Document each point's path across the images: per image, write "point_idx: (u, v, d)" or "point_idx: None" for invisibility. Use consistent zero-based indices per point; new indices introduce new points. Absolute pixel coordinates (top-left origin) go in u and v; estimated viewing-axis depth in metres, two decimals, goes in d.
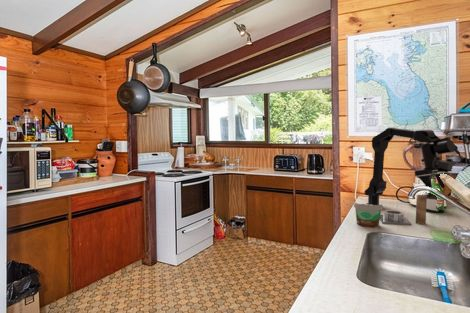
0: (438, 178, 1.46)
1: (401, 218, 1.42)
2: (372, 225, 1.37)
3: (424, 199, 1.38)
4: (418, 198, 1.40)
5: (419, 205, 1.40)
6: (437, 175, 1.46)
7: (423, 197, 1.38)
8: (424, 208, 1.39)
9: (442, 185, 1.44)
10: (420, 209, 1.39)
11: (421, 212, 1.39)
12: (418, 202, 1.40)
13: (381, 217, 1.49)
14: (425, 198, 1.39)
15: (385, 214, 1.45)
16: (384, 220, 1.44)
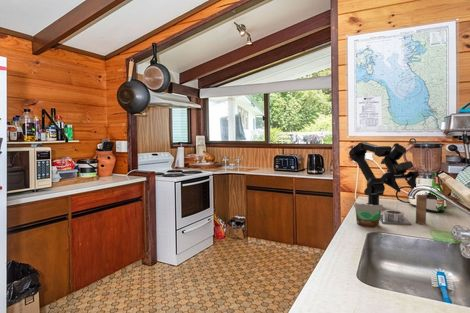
0: (410, 183, 1.53)
1: (401, 218, 1.42)
2: (372, 225, 1.37)
3: (424, 199, 1.39)
4: (418, 198, 1.40)
5: (419, 205, 1.40)
6: (408, 181, 1.54)
7: (423, 197, 1.38)
8: (424, 208, 1.39)
9: None
10: (420, 209, 1.39)
11: (421, 212, 1.39)
12: (418, 202, 1.40)
13: (381, 217, 1.49)
14: (425, 198, 1.39)
15: (385, 214, 1.45)
16: (384, 220, 1.44)
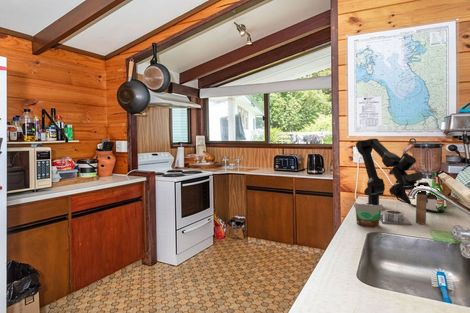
0: None
1: (401, 218, 1.42)
2: (372, 225, 1.37)
3: (424, 199, 1.39)
4: (418, 198, 1.40)
5: (419, 205, 1.40)
6: (418, 193, 1.48)
7: (423, 197, 1.39)
8: (424, 208, 1.39)
9: None
10: (420, 209, 1.39)
11: (421, 212, 1.39)
12: (418, 202, 1.40)
13: (381, 217, 1.49)
14: (425, 198, 1.39)
15: (385, 214, 1.45)
16: (384, 220, 1.44)
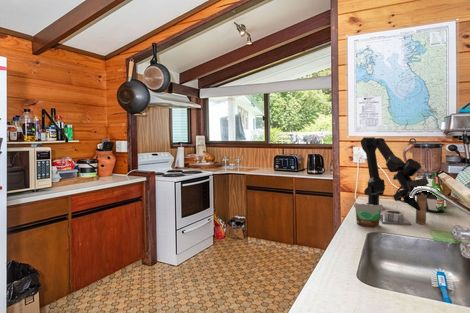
0: None
1: (401, 218, 1.42)
2: (372, 225, 1.37)
3: (424, 199, 1.39)
4: (418, 198, 1.40)
5: (419, 205, 1.40)
6: None
7: (423, 197, 1.38)
8: (424, 208, 1.39)
9: None
10: None
11: (421, 212, 1.39)
12: (418, 202, 1.40)
13: (381, 217, 1.49)
14: (425, 198, 1.39)
15: (385, 214, 1.45)
16: (384, 220, 1.44)
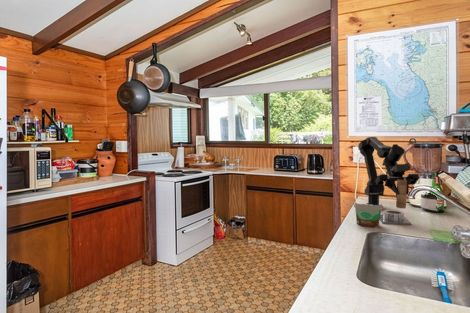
0: None
1: (401, 218, 1.42)
2: (372, 225, 1.37)
3: (403, 183, 1.41)
4: (398, 182, 1.43)
5: (398, 189, 1.43)
6: None
7: (402, 181, 1.41)
8: (403, 192, 1.42)
9: (406, 191, 1.43)
10: (399, 193, 1.42)
11: (400, 196, 1.42)
12: (398, 186, 1.43)
13: (381, 217, 1.49)
14: (404, 182, 1.41)
15: (385, 214, 1.45)
16: (384, 220, 1.44)
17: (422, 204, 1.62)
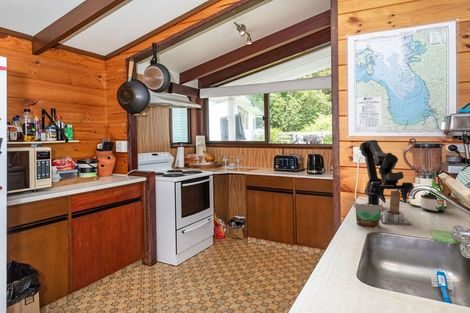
0: (402, 195, 1.48)
1: (401, 218, 1.42)
2: (372, 225, 1.37)
3: (396, 195, 1.43)
4: (391, 194, 1.45)
5: (391, 200, 1.45)
6: (401, 193, 1.49)
7: (395, 193, 1.43)
8: (396, 204, 1.44)
9: (404, 200, 1.44)
10: (392, 204, 1.44)
11: (392, 207, 1.44)
12: (391, 198, 1.45)
13: (381, 217, 1.49)
14: (397, 194, 1.43)
15: (385, 214, 1.45)
16: (384, 220, 1.44)
17: (422, 204, 1.62)
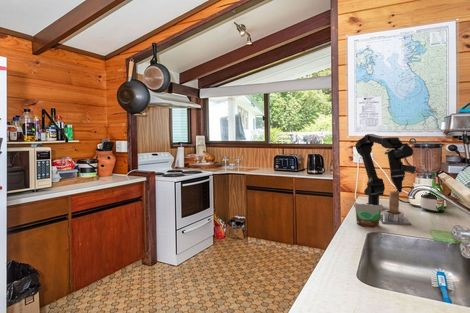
0: None
1: (401, 218, 1.42)
2: (372, 225, 1.37)
3: (395, 195, 1.43)
4: (390, 194, 1.45)
5: (390, 201, 1.45)
6: None
7: (394, 193, 1.43)
8: (395, 204, 1.44)
9: None
10: (391, 204, 1.44)
11: (392, 208, 1.44)
12: (390, 198, 1.45)
13: (381, 217, 1.49)
14: (396, 194, 1.43)
15: (385, 214, 1.45)
16: (384, 220, 1.44)
17: (422, 204, 1.62)
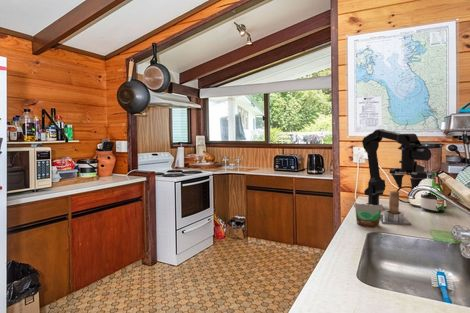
0: (397, 178, 1.57)
1: (401, 218, 1.42)
2: (372, 225, 1.37)
3: (395, 195, 1.43)
4: (390, 194, 1.45)
5: (390, 201, 1.45)
6: (397, 176, 1.57)
7: (394, 193, 1.43)
8: (395, 204, 1.44)
9: (400, 185, 1.57)
10: (391, 204, 1.44)
11: (392, 207, 1.44)
12: (390, 198, 1.45)
13: (381, 217, 1.49)
14: (396, 194, 1.43)
15: (385, 214, 1.45)
16: (384, 220, 1.44)
17: (422, 204, 1.62)
